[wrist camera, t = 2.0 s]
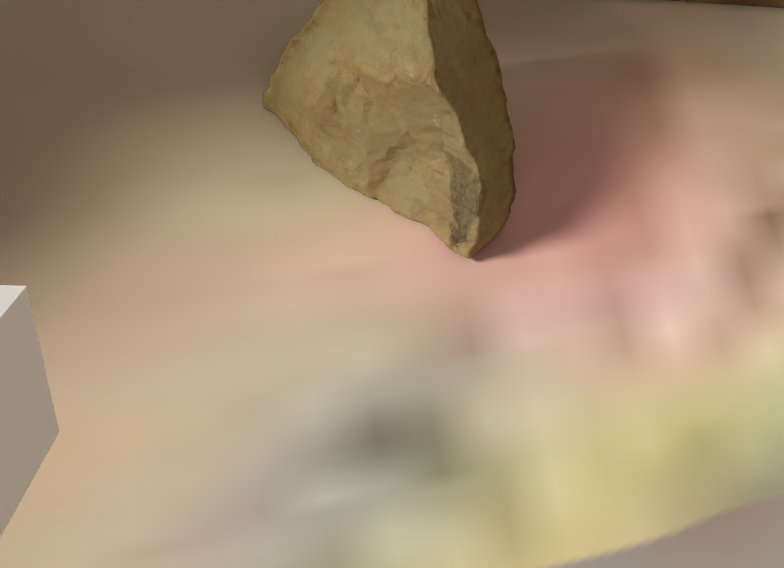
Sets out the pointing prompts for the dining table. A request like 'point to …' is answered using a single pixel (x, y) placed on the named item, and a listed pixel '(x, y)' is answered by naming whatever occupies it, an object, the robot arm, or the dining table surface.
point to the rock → (404, 111)
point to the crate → (745, 2)
